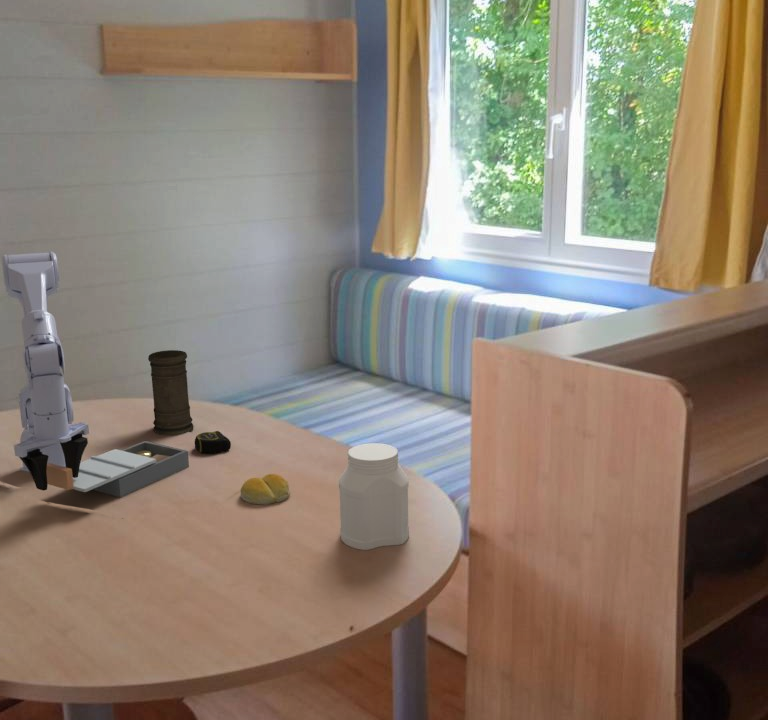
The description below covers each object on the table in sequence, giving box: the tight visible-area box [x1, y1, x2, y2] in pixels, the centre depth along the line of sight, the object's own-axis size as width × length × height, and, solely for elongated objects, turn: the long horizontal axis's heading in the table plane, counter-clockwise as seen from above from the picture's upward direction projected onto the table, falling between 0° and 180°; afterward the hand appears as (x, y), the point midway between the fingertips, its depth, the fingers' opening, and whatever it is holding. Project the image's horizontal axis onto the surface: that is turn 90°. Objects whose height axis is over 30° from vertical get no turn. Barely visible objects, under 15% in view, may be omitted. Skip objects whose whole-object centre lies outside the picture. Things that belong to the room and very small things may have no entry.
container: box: [147, 349, 195, 436], centre depth 210 cm, size 9×9×18 cm
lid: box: [47, 448, 156, 493], centre depth 175 cm, size 11×19×4 cm, turn 148°
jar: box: [338, 442, 410, 551], centre depth 155 cm, size 12×10×15 cm
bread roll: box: [240, 473, 291, 505], centre depth 174 cm, size 8×9×4 cm
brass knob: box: [135, 451, 152, 468], centre depth 189 cm, size 3×3×3 cm
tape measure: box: [194, 430, 232, 455], centre depth 198 cm, size 7×7×4 cm
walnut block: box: [146, 454, 170, 467], centre depth 186 cm, size 4×4×2 cm
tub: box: [92, 440, 190, 498], centre depth 184 cm, size 12×18×4 cm, turn 148°
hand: (57, 482), depth 168 cm, fingers open, 6 cm apart
